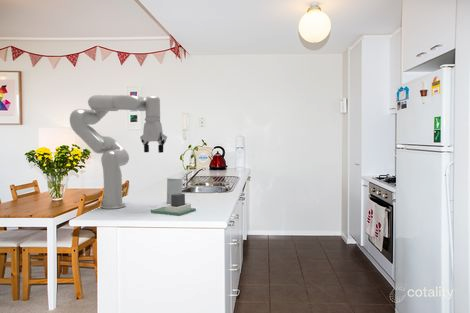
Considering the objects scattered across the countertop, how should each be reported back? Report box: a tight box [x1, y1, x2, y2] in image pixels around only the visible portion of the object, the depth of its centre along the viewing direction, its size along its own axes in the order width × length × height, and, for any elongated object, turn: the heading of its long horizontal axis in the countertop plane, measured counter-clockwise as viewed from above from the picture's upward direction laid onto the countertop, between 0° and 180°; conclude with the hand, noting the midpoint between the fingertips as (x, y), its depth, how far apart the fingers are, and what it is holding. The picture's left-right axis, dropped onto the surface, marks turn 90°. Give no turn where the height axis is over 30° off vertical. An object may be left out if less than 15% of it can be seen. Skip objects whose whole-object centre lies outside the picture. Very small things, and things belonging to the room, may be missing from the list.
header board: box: [150, 202, 197, 217], centre depth 194 cm, size 18×14×4 cm
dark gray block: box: [170, 192, 186, 207], centre depth 193 cm, size 4×7×8 cm, turn 150°
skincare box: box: [166, 177, 183, 205], centre depth 219 cm, size 8×6×15 cm
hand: (153, 152), depth 201 cm, fingers open, 9 cm apart
